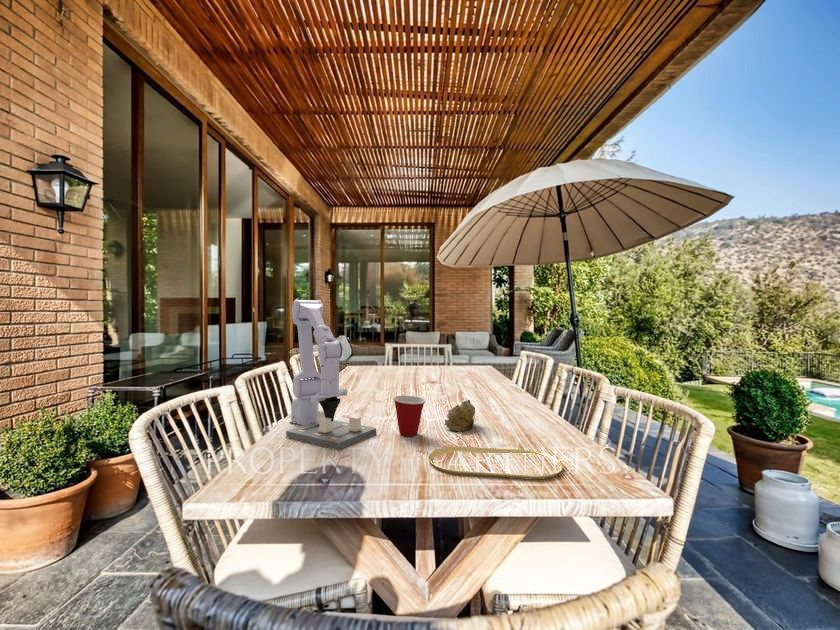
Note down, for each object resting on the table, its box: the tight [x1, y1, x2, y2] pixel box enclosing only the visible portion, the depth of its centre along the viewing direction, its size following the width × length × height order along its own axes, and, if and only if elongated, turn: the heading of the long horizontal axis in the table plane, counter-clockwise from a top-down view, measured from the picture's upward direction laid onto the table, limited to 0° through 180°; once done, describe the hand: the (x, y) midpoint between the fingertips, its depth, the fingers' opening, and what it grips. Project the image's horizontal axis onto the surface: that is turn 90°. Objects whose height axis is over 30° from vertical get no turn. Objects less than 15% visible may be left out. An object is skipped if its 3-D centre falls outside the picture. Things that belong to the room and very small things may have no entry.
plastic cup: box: [393, 395, 427, 438], centre depth 135 cm, size 11×11×12 cm
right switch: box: [348, 415, 362, 432], centre depth 131 cm, size 3×3×4 cm
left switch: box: [316, 409, 325, 424], centre depth 138 cm, size 3×3×4 cm
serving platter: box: [428, 445, 564, 480], centre depth 109 cm, size 19×35×2 cm, turn 82°
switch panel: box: [285, 419, 377, 451], centre depth 132 cm, size 22×18×2 cm
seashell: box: [444, 399, 476, 433], centre depth 145 cm, size 11×14×10 cm
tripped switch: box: [318, 417, 333, 433], centre depth 129 cm, size 3×3×4 cm
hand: (329, 421), depth 131 cm, fingers closed
